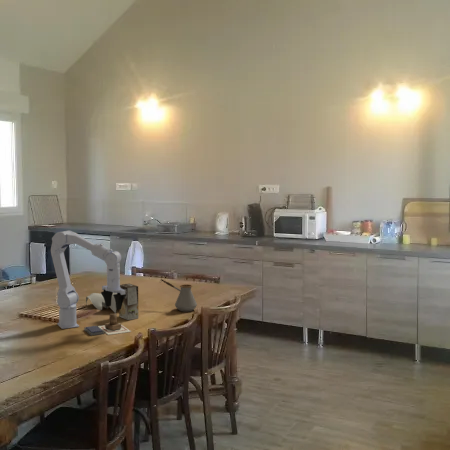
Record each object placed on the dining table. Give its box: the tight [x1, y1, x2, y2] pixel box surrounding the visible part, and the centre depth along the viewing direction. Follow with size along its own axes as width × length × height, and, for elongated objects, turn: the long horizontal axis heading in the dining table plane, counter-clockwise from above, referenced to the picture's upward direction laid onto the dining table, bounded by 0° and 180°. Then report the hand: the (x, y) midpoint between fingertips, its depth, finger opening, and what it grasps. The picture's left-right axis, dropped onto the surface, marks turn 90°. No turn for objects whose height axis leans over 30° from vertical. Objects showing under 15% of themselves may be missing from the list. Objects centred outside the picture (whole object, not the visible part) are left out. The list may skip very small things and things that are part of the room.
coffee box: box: [118, 283, 139, 321], centre depth 272 cm, size 9×6×16 cm
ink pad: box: [83, 325, 105, 337], centre depth 247 cm, size 10×6×2 cm, turn 30°
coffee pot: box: [159, 278, 198, 312], centre depth 291 cm, size 21×12×15 cm, turn 65°
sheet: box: [97, 323, 132, 336], centre depth 252 cm, size 15×10×1 cm
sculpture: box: [85, 292, 117, 314], centre depth 293 cm, size 25×19×10 cm
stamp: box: [104, 313, 122, 331], centre depth 251 cm, size 6×4×7 cm
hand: (113, 307), depth 251 cm, fingers open, 7 cm apart
